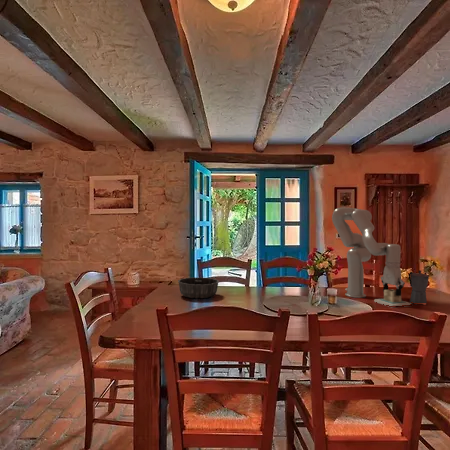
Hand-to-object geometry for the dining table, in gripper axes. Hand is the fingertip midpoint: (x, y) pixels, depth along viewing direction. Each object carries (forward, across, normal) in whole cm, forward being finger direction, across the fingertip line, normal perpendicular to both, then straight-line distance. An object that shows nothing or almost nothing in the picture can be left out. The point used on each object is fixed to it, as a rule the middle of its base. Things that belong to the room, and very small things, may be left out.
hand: (391, 293), depth 199 cm
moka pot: (+6, +4, +16) cm, 17 cm away
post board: (+6, +1, 0) cm, 6 cm away
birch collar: (+4, 0, 0) cm, 4 cm away
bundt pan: (+8, -51, -106) cm, 118 cm away
